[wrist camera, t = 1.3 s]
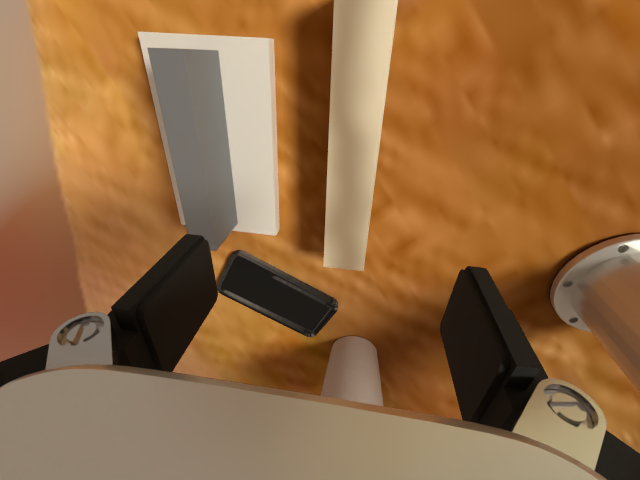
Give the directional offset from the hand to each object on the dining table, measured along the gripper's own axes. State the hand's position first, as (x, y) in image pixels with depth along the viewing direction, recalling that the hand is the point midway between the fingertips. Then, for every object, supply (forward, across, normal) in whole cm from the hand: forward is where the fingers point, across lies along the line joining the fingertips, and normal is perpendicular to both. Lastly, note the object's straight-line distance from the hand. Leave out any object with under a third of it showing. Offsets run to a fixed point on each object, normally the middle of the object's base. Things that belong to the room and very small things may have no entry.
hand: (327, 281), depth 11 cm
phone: (+21, +8, +20) cm, 30 cm away
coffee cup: (+20, -3, +29) cm, 36 cm away
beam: (+20, 0, 0) cm, 20 cm away
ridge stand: (+20, +13, +1) cm, 24 cm away
